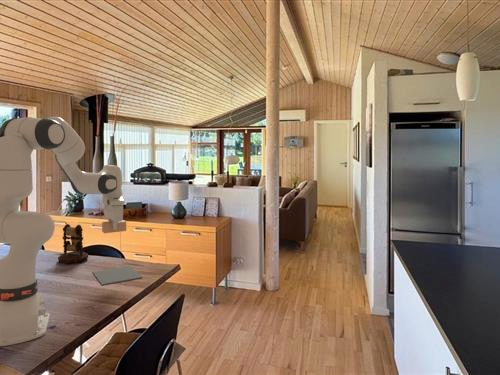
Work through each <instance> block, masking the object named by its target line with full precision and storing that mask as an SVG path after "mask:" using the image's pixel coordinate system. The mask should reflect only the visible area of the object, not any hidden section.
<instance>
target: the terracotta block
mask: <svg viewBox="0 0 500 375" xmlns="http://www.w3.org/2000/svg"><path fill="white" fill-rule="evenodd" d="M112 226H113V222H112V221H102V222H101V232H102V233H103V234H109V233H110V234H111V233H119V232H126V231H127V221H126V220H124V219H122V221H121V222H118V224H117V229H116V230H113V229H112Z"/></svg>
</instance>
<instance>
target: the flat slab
mask: <svg viewBox="0 0 500 375" xmlns="http://www.w3.org/2000/svg"><path fill="white" fill-rule="evenodd" d="M92 274H93V276H94V277H95V278H96V279H97V281H98V282H99V284H100V285H101V286H105V285H106V284H107V285H109V284H110V285H111V284H116V283H121V282H128V281H133V280H138V279H142V278H143V276H142V275H141V274H140V273H138V272H137V271H136V270H135V269H134V268H133V267H131V266H130V265H127V266H125V265H124V266H119V267H114V268H108V269H102V270H100V269H99V270H96V271H95V270H94V271H92Z"/></svg>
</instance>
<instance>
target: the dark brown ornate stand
mask: <svg viewBox="0 0 500 375" xmlns="http://www.w3.org/2000/svg"><path fill="white" fill-rule="evenodd" d="M83 230H84V229H83V227H82V225H81V224H76V226H75V227H73V226H71V225H70V224H69V223H67V224H65V225H64V227H63V228H62V231H63V234H62V235H63V236H62V239H63V245H62V247H63V253H62V254H61V255H59V256H58V257H57V260H58V263H61V262H63V263H74V264H77V263H78V262H80V261H85V260H86V259H88V258H89V254H88V253H86V252H85V251H83V248H84V245H83V240H84V236H83Z"/></svg>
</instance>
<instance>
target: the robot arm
mask: <svg viewBox="0 0 500 375" xmlns="http://www.w3.org/2000/svg"><path fill="white" fill-rule="evenodd" d="M35 150H36V151H38V150H39V151H40V150H51V151H52V152H53V153H54V154H55V156H54V158H55V161H56V163H57V164H58V166H59V168H60V169H61V171H62V172H63V173H64V175H65V176H66V178H67V179H68V181H69V183H70V185H71V188H72V190H73V191H74V192H75V193H76V194H78V195H101V196H102V202H101V203H102V204H103V215H104V217H106V218H107V222H109V221H112V222H113V226H112V229H113V230H116V229H117V224H118V222H121V221H122V220H124V205H125V199H124V198H123V190H122V187H123V174H122V170H121V167H119V166H118V165H114V164H113V165H112V164H105V165H103V166H102V169H101V170H100V171H98V172H87V171H83V170H81V169H80V168H79V167H78V164H77V163H76V162H78V161H79V160H81V158H82V157H83V156H84V154H85V152H86V145H85V142H84V141H83V139H82V138H81V137H80V136H79V134H78V133H77V131H76V130H75V129H74V128H73V127H72V126H71V125H70V124H69V123H68V122H67V121H66V120H64V119H63V118H61V117H59V116H50V117H46V118H40V117H32V116H29V117H28V116H27V117H19V118H17V117H16V118H15V117H13V118H9V119H7V120H5V121H4V122H3V123H1V126H0V244H9V245H10V247H9V252H8V254H6V255H5V256H2V257H1V258H0V347H6V346H11V345H12V346H13V345H17V344H21V343H24V342H29V341H32V340H35V339H37V338H40V337H42V336H44V335H46V333H47V329H48V326H49V322H50V318H51V316H50V313H49V312H47V311H46V307H44V305H45V301H44V299H43V294H42V293H40V292H38V291H39V290H38V288H39V287H38V286H39V284H38V280H37V279H36V265H37V264H36V263H37V262H36V261H37V257H38V254H39V251H40V250H41V249H42V246H44V245H45V244H46V243H47V242H48V241H50V239H51V238H52V237H53V235H54V233H55V222H54V219H53V218H52V216H50V215H49V214H46V213H42V212H38V211H26V210H25V211H23V210H19V208H20V205H21V204H20V203H21V202H23V200H24V199H26V198H28V197H29V196H30V195H31V194H32V193H33V165H32V164H33V163H32V153H33V151H35Z"/></svg>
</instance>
